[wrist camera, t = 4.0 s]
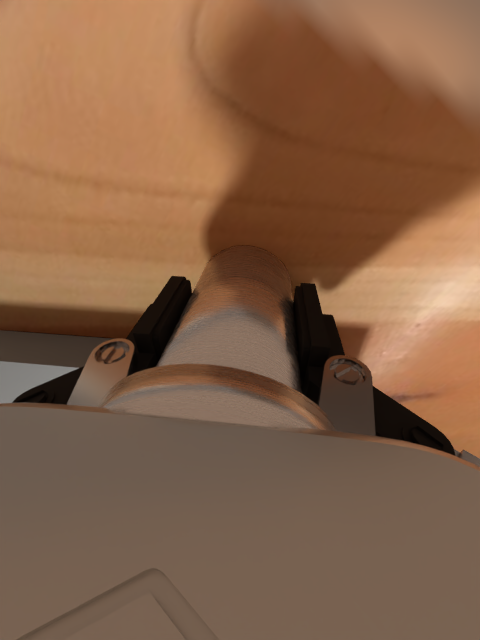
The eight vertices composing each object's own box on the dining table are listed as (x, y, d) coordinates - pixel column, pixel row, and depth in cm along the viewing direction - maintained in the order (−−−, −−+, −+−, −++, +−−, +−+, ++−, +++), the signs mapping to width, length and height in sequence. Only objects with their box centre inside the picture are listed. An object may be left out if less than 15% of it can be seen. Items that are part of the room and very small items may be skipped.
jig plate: (329, 354, 15) (338, 389, 13) (297, 467, 23) (299, 499, 21) (-20, 328, 17) (-60, 356, 15) (65, 442, 25) (48, 469, 23)
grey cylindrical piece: (317, 231, 11) (396, 430, 4) (298, 339, 15) (320, 547, 7) (178, 226, 12) (19, 393, 4) (192, 332, 15) (118, 519, 8)
